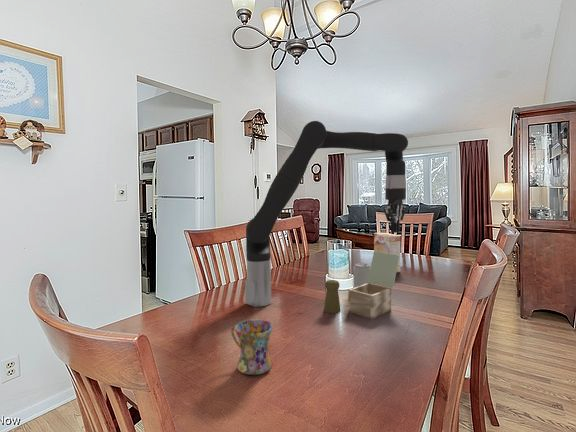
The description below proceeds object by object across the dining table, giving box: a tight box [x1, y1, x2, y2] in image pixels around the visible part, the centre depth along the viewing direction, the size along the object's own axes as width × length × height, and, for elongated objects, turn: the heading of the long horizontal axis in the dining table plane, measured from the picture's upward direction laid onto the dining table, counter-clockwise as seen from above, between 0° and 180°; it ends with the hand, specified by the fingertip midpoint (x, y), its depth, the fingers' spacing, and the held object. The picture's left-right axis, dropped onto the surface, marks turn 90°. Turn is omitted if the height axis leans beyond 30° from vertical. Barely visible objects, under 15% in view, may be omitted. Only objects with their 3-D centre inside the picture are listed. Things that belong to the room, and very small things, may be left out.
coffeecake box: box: [373, 232, 402, 273], centre depth 182 cm, size 15×7×20 cm, turn 17°
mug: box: [230, 318, 274, 376], centre depth 83 cm, size 12×9×11 cm
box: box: [347, 283, 392, 320], centre depth 121 cm, size 12×10×8 cm
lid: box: [368, 251, 399, 289], centre depth 126 cm, size 12×10×1 cm
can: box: [352, 262, 372, 288], centre depth 143 cm, size 8×8×12 cm
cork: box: [323, 279, 342, 314], centre depth 122 cm, size 6×6×11 cm
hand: (395, 232), depth 131 cm, fingers closed
